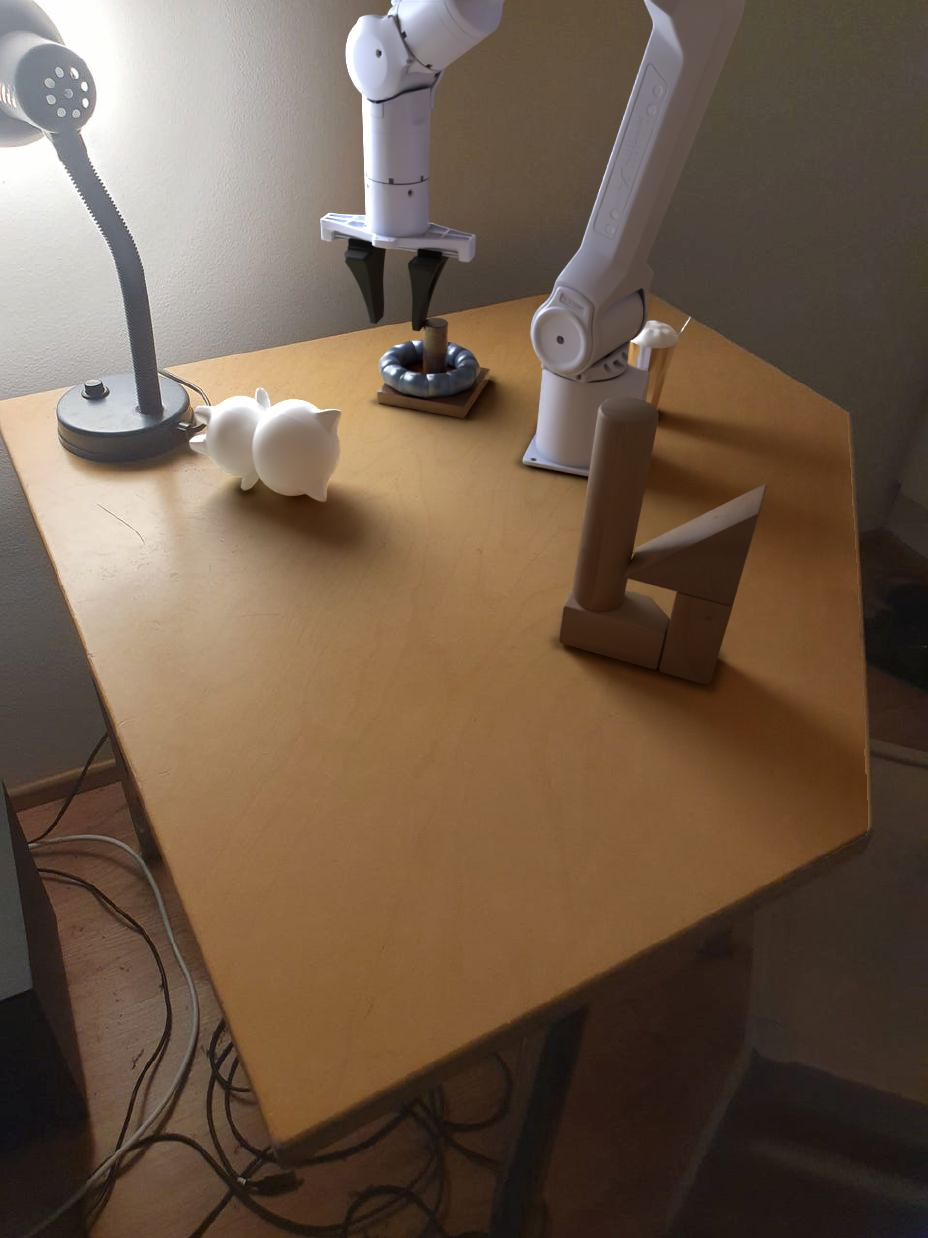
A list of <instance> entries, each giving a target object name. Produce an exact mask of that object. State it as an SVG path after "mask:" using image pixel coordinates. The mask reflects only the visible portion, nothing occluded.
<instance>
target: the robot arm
mask: <svg viewBox="0 0 928 1238" xmlns="http://www.w3.org/2000/svg"><path fill="white" fill-rule="evenodd" d="M505 1H506V0H391V5H392V6H391V7H390V8H389V10H388V12H387V14H386V15H379V14H365V15H362V16H359V17H358V20H357V21H356V24H355V25H354V26H353V27H352V29H351V30H350V32H349V34H348V36H347V41H346V45H345V61H346V67H347V72H348V74H349V77H350V80H351V81H352V83H353V85H354V87H355V88H356V89H357V90H358V92H359V93H360V94H361V96H362V98H361V99H362V127H363V128H362V129H363V131H362V132H363V159H364V160H363V161H364V165H363V166H364V194H365V214H342V213H333V212H328V213H327V214H326V215H324V216H323V217H322V218H320V233H321V240H322V241H325V242H334V241H343V242H347V250H345V251H344V252H343V260H344V263H345V264H346V266H347V267H348V269H349V270H350V272H351V274H352V276H353V278H354V279H355V282H356V283H357V286H358V288H359V291H360V294H361V296H362V299H363V302H364V305H365V309H366V311H367V316H368V320H369V323H370V324H372V325H377V324H378V323H379V322H380V321H381V320H382V319H383V318H384V315H385V292H384V291H385V290H384V274H385V260H386V251H387V249H388V250H392V249H395V250H401V251H408V252H409V251H410V252H414V253H415V252H416V253H417V254H416V255H415V256H414V257H413V258H412V259H411V260H409V262H408V263H407V269H408V274H409V279H410V287H411V297H412V299H411V302H412V304H411V329H412V331H414V332H420V331H422V330H423V324H424V321H425V320H426V319H428V312H429V309H430V304H431V301H432V299H433V295H434V292H435V289H436V286H437V284H438V281H439V279H440V277H441V274H442V272H443V270H444V268H445V266H446V264H447V262H448V261H449V259H450V258H454V259H458V262H462V263H470V262H471V261H472V260H473V258H475V256H476V244H477V243H476V241H477V234H475V233H469V232H464V231H460V230H457V229H453V228H450V227H446V226H443V225H439V224H437V223H433V222H430V219H429V218H430V151H431V150H430V149H431V148H430V147H431V145H430V144H431V140H430V139H431V112H432V109H433V108H435V94H436V89H437V87H438V85H439V84H440V82H441V81H442V79H443V76H444V74H445V71H446V68H447V67H449V66H450V65H451V64H453V63H454V62H455V61H457V60H458V59H459V58H461V57H462V56H463V55H464V54H466V53H467V52H469V51H470V50H471V49H473V48H474V47H475V46H477V45H478V44H479V43H481V42H482V41H483V40H485V39H487V38H488V37H489V36H490V35H491V34H493V33H495V31H496V30H497V29H498V28H499V26H500V24H501V21H502V16H503V7H504V2H505ZM643 2H644V5H645V7H646V9H647V11H648V13H649V16H650V18H651V20H652V30H651V33H650V35H649V39H648V41H647V45H646V47H645V51H644V54H643V57H642V60H641V63H640V65H639V68H638V72H637V75H636V78H635V80H634V84H633V87H632V91H631V94H630V96H629V99H628V101H627V106H626V108H625V112H624V114H623V118H622V120H621V124H620V126H619V129H618V133H617V135H616V139H615V142H614V145H613V147H612V151H611V154H610V156H609V160H608V163H607V165H606V169H605V173H604V175H603V177H602V180H601V184H600V188H599V190H598V193H597V195H596V199H595V202H594V205H593V207H592V211H591V214H590V217H589V219H588V223H587V226H586V229H585V231H584V235H583V239H582V241H581V244H580V247H579V249H578V250H577V251H576V252H575V254H574V255H573V257H572V258H571V259H570V260H569V262H568V263H567V265H566V266H565V267H564V268H563V269H562V271H561V273H560V274H559V275H558V276H557V278H556V280H555V282H554V286H553V289H552V290H551V293H550V295H549V297H548V298H547V300H546V301H544V303H542V304H541V305H539V308H537V310H536V311H535V313H534V314H533V316H532V320H531V324H530V340H531V341H530V342H531V344H532V348H533V350H534V352H535V355H536V356H537V359H538V360H539V361H540V362H541V367H540V368H541V369H542V373H541V384H540V393H539V402H538V403H539V404H538V412H537V413H538V415H537V423H536V424H537V425H536V432H535V434H534V436H533V438H532V439H531V441H530V443H529V445H528V447H527V450H526V451H525V453H524V455H523V457H522V464H524V465H526V466H532V467H536V468H542V469H547V470H553V471H556V472H562V473H568V474H573V475H578V476H584V477H587V478H589V471H590V464H591V457H592V450H593V443H594V436H595V429H596V422H597V415H598V410H599V407H600V405H601V404H602V403H603V402H604V401H605V400H608V399H610V398H615V397H633V398H638V399H641V400H645V401H646V398H647V393H648V387H649V380H650V372H648V371H646V370H642V369H639V368H636V367H634V366H632V365H630V364H629V363H628V353H629V347H630V341H631V340H633V339H635V338H636V337H637V336H638V335H639V334H640V333H641V332H642V330H643V329H644V327H645V325H646V322H647V321H648V318H649V311H650V309H649V292H650V287H651V285H652V282H653V279H654V277H655V273H654V271H653V269H652V268H651V267H650V265H649V264H648V259H649V256H650V253H651V252H652V249H653V246H654V243H655V241H656V239H657V236H658V233H659V231H660V228H661V226H662V223H663V221H664V218H665V215H666V213H667V210H668V208H669V205H670V204H671V200H672V197H673V196H674V193H675V190H676V188H677V185H678V183H679V181H680V178H681V175H682V173H683V170H684V167H685V164H686V162H687V160H688V157H689V155H690V152H691V149H692V147H693V144H694V142H695V139H696V137H697V135H698V132H699V129H700V126H701V124H702V122H703V119H704V116H705V113H706V111H707V109H708V106H709V103H710V101H711V99H712V96H713V93H714V90H715V88H716V85H717V83H718V81H719V78H720V76H721V72H722V70H723V68H724V65H725V63H726V61H727V58H728V55H729V52H730V50H731V49H732V48H731V47H732V45H733V42H734V40H735V37H736V35H737V32H738V30H739V27H740V24H741V22H742V19H743V15H744V12H745V11H744V10H745V8H746V7H745V6H746V0H643Z"/></svg>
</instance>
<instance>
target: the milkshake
mask: <svg viewBox="0 0 928 1238" xmlns="http://www.w3.org/2000/svg"><path fill="white" fill-rule="evenodd" d="M690 319H691V315H688V317H687V319H686V320H685V322H684V323H683V325H682V326H681V327H680V329H679V331H678V332H676V330H675V329H674V328H673V327H672V326H671V325H670V324H666V323H664V322H661V321H659V320H647V322H646V325H645V327H644V329H643V330H642V332H641V333H640V334H639V335H638V336H637V337H636V338H635V339H633V340H631V341H630V347H629V353H628V363H629V364H630V365H632V366H634V367H636V368H639V369H642V370H646V371H648V372H650V380H649V387H648V393H647V398H646V401H647V402H649V403H651V404H652V405H653V406H654V407H656V409H657V410H658V408H659V406H660V402H661V398H662V394H663V390H664V387H665V383H666V379H667V375H668V372H669V369H670V366H671V364H672V360H673V357H674V353H675V350H676V347H677V343H678V341H679V336H680V335H681V333H682V332H683V330H684V329H685V327H687V324H688V323H689V321H690Z"/></svg>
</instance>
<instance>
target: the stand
mask: <svg viewBox="0 0 928 1238" xmlns="http://www.w3.org/2000/svg"><path fill="white" fill-rule="evenodd" d="M422 330H423V333H422V334H423V339H422V340H423V362H416V363H412V364H409V365H406V366H404V367H403V368H405V369H406V370H408V371H411V372H416V373H422V374H439V373H447V372H449V371H452V370H454V369H456V368H454V367H452V366H450V365H448V364H447V354H448V342H449V322H448V321H447V320H446V319H444V318H441V317H430V318H429V317H428V318H427V319H426V320H425V321H424V324H423V328H422ZM490 373H491V369H490V368H487V367H481V366H480V374H479V376H478V377H477V379H476V380H475V382H474V383H473V385H472V386H471V387H470V388H468V389H466V390H464V391H461V392H459V393H456V394H454V395H451V396H443V397H430V398H425V397H419V396H413V395H408V394H403V393H401V392H399V391H397V390H396V389H394V388H392V387H390V386H388V385H387V384H386V383H385V382H383V384H382V385H381V387H380V388H379V389H378V390H377V392H376V393H377V394H376V395H377V403H379V404H383V405H389V406H393V407H394V406H395V407H400V408H405V409H411V410H417V411H421V412H427V413H431V414H432V413H433V414H438V415H443V416H448V417H455V418H459V419H464V418H465V417H466V416H467V414H468V412H469V411H470V409H471V408H472V407H473V405H474V403H475V402H476V400H477V399H478V397H479V396H480V394H481V393H482V391H483V390H484V388H485V387H486V385H487V384H488V382H489V381H490Z"/></svg>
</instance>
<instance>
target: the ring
mask: <svg viewBox="0 0 928 1238" xmlns="http://www.w3.org/2000/svg"><path fill="white" fill-rule="evenodd" d="M416 362H423V339H415V340H408V341H405V342H401V343H399V344H396V345H393V346H391V347H390V348H389V349H388V350H387V351H386V352H385V353H384V354H383V355H382V356H381V358H380V359H379V361H378V364H377V365H378V367H377V368H378V370H379V373H380V376H381V379H382V381H383V383H386V384H387V385H388V386H390V387H392V388H394V389H396V390H397V391H399V392H401V393H403V394H408V395H413V396H419V397H425V398H430V397H443V396H451V395H454V394H456V393H459V392H461V391H464V390H466V389H468V388H470V387H471V386H472V385H473V383H474V382H475V380H476V379H477V377H478V376H479V374H480V367H481V364H480V363H479V362H478V360H477V357H476V355H475V354H474V353H473V352H472V351H471V350H469V349H467V348H465V347H463V346H461V345H460V344H457V343H455V342H451V341H448V354H447V364H448V365H450V366H452V367H454V368H456V369H454V370H452V371H449V372H447V373H439V374H422V373H416V372H411V371H408V370H406V369H405V368H403V367H404V366H406V365H409V364H412V363H416Z"/></svg>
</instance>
